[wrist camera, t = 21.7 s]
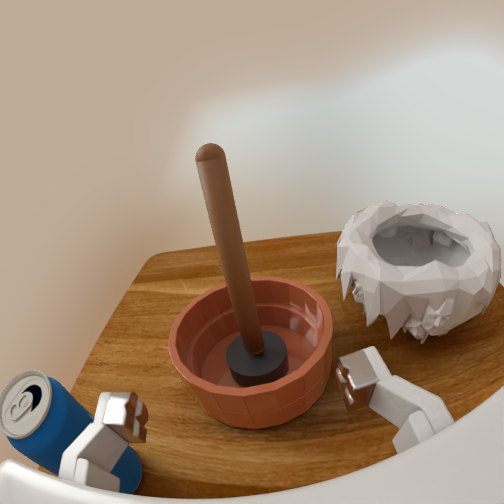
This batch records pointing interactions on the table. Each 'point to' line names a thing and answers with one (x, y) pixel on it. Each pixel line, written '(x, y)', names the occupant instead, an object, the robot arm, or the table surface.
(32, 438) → the beverage can
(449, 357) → the table surface
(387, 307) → the bowl
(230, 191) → the plunger
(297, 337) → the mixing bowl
